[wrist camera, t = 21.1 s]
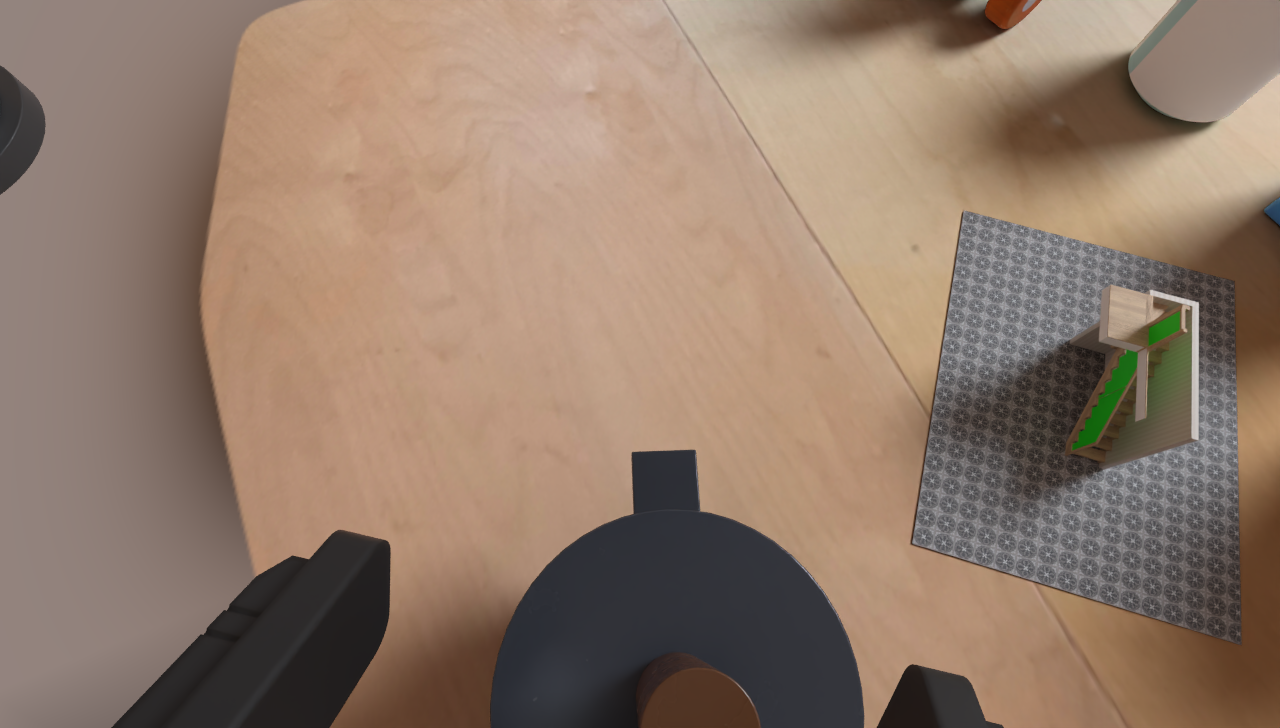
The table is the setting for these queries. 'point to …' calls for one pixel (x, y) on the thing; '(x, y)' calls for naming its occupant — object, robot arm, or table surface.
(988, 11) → the toy helicopter
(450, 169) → the table surface
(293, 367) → the table surface
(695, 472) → the pot
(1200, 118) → the can
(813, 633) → the lid
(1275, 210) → the ink box
